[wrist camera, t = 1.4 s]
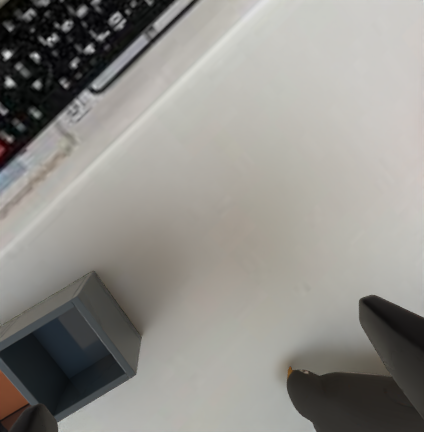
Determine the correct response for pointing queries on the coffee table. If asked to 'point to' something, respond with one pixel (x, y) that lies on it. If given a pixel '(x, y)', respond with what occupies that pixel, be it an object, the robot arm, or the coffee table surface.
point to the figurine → (352, 402)
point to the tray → (65, 351)
